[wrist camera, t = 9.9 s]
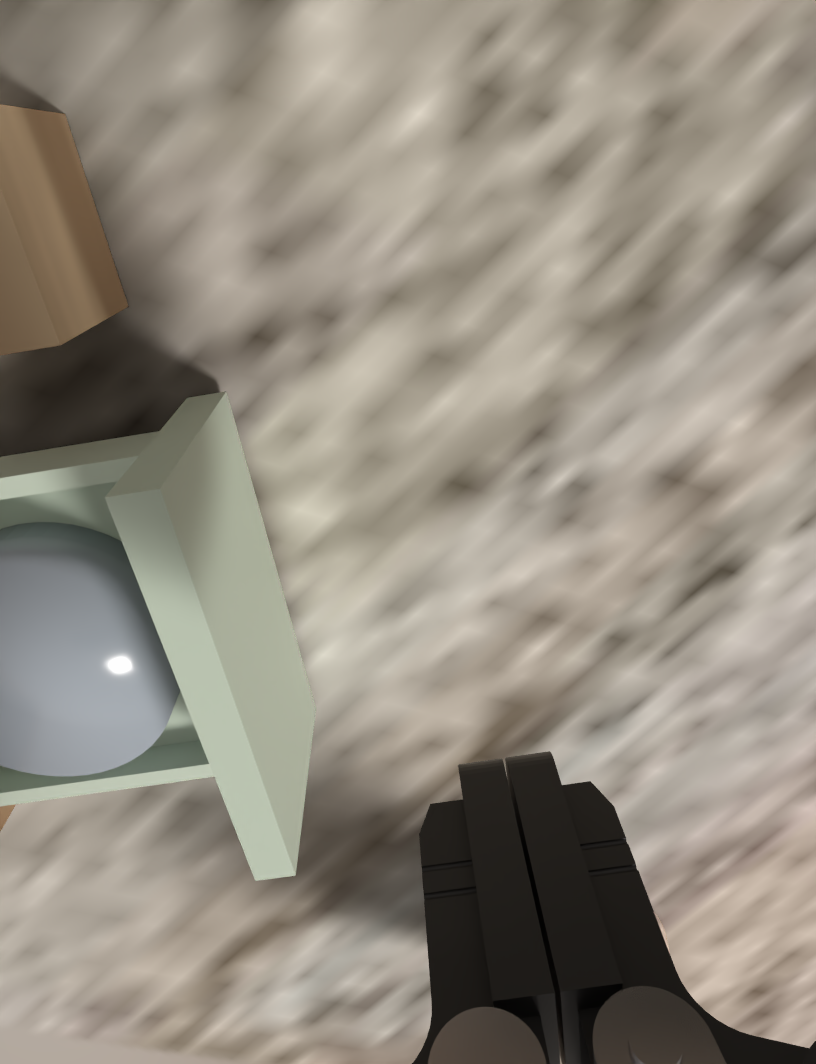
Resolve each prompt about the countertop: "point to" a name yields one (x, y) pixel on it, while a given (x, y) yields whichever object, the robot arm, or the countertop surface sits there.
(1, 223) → the oak block
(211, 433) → the tray
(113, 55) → the countertop surface
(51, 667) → the grey round dome
